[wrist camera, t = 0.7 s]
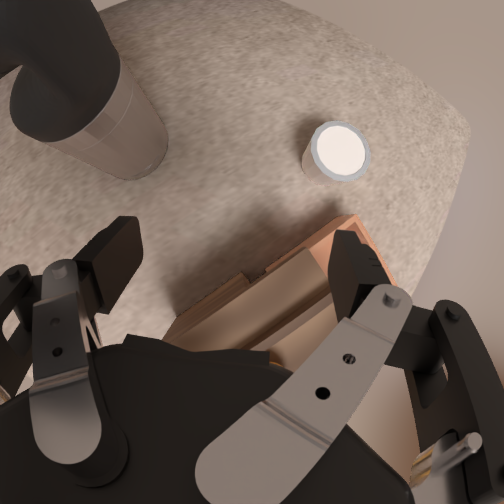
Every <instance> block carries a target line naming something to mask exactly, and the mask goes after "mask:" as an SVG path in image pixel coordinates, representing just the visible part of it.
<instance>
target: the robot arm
mask: <svg viewBox="0 0 504 504" xmlns="http://www.w3.org/2000/svg"><path fill="white" fill-rule="evenodd" d="M20 65H23V66H22V68H21V70H20V72H19V73H18V75H17V78H16V80H15V82H14V85H13V88H12V92H11V97H10V114H11V118H12V120H13V123H14V124H15V126H16V127H17V128H18V129H19V130H20V131H21V132H22V133H24V134H26V135H28V136H30V137H32V138H34V139H36V140H38V141H41V142H43V143H45V144H47V145H49V146H52V147H54V148H56V149H58V150H61V151H63V152H65V153H67V154H69V155H71V156H73V157H75V158H78V159H80V160H82V161H84V162H86V163H88V164H90V165H92V166H94V167H97V168H99V169H101V170H103V171H105V172H107V173H109V174H111V175H113V176H115V177H117V178H121V179H124V180H134V179H139V178H141V177H144V176H146V175H148V174H149V173H151V172H152V171H153V170H154V169H155V168H156V167H158V165H159V164H160V163H161V161H162V160H163V158H164V156H165V154H166V150H167V147H168V135H167V131H166V128H165V126H164V124H163V123H162V121H161V120H160V118H159V117H158V115H157V113H156V112H155V110H154V108H153V107H152V105H151V104H150V102H149V101H148V99H147V97H146V96H145V94H144V93H143V91H142V90H141V88H140V86H139V85H138V83H137V82H136V80H135V79H134V77H133V75H132V74H131V72H130V71H129V69H128V68H127V66H126V65H125V63H124V62H123V60H122V58H121V57H120V55H119V54H118V52H117V51H116V49H115V47H114V46H113V44H112V42H111V40H110V38H109V36H108V33H107V31H106V29H105V27H104V24H103V22H102V20H101V18H100V16H99V14H98V12H97V10H96V9H95V7H94V5H93V3H92V2H91V0H0V79H1V78H2V77H4V76H5V75H6V74H8V73H9V72H11V71H12V70H14V69H15V68H17V67H18V66H20ZM142 260H143V245H142V239H141V233H140V226H139V221H138V218H137V217H135V216H119V217H118V218H116V219H115V220H114V221H113V222H112V223H111V224H110V225H109V226H108V227H107V228H105V229H103V230H101V231H100V232H98V233H97V234H96V235H95V236H94V237H93V238H92V240H90V241H89V242H88V243H87V245H85V246H84V247H83V248H82V249H81V250H80V251H79V252H78V253H77V254H76V256H75V257H74V258H73V259H72V260H71V259H62V260H58V261H56V262H54V263H52V264H50V265H49V266H48V267H47V268H46V269H45V270H44V272H43V275H36V276H31V274H30V271H29V268H28V266H27V265H24V264H20V265H16V266H13V267H11V268H9V269H8V270H7V271H5V272H4V273H3V274H2V275H1V276H0V504H497V503H500V502H502V501H504V389H503V386H502V384H501V381H500V379H499V376H498V374H497V372H496V369H495V367H494V365H493V362H492V360H491V358H490V356H489V354H488V352H487V349H486V347H485V345H484V343H483V341H482V339H481V337H480V335H479V333H478V331H477V329H476V327H475V326H474V324H473V322H472V320H471V318H470V316H469V314H468V313H467V311H466V310H465V309H464V308H463V307H462V306H461V305H459V304H458V303H456V302H453V301H450V300H440V301H438V302H437V303H436V305H435V307H434V309H433V311H432V310H428V309H424V308H420V307H416V306H413V303H412V299H411V297H410V296H409V294H408V293H407V292H405V291H404V290H403V289H401V288H399V287H397V286H394V285H392V284H391V282H390V280H389V278H388V276H387V274H386V272H385V270H384V268H383V267H382V264H381V262H380V260H379V258H378V256H377V254H376V253H375V251H374V250H373V249H372V248H371V247H369V246H368V245H367V244H361V242H360V240H359V238H358V236H357V234H356V232H355V231H351V230H340V229H336V231H335V233H334V238H333V243H332V248H331V253H330V258H329V263H328V281H329V285H330V290H331V294H332V298H333V303H334V307H335V312H336V316H337V321H338V325H337V326H336V327H335V328H334V329H333V330H332V332H331V333H330V334H329V335H328V336H327V337H326V339H325V340H324V341H323V342H322V343H321V344H320V345H319V346H318V348H317V349H316V350H315V351H314V352H313V353H312V354H311V355H310V356H309V358H308V359H307V360H306V361H305V362H304V363H303V364H302V365H301V366H300V367H299V368H298V369H297V370H296V371H295V372H292V371H290V370H288V369H286V368H284V367H282V366H279V365H276V364H273V363H270V362H269V358H270V352H269V351H255V350H242V349H223V350H212V351H199V352H192V351H188V350H185V349H183V348H180V347H177V346H175V345H172V344H169V343H167V342H164V341H162V340H159V339H154V338H148V337H142V336H137V335H131V334H127V335H126V337H125V339H124V341H123V343H122V344H114V345H109V346H104V347H103V344H102V340H101V336H100V333H99V329H98V324H97V321H96V318H95V314H96V313H103V314H108V315H109V313H110V311H111V310H112V308H113V307H114V305H115V303H116V302H117V300H118V298H119V297H120V295H121V294H122V292H123V291H124V289H125V287H126V286H127V284H128V283H129V281H130V280H131V278H132V277H133V275H134V274H135V272H136V271H137V269H138V268H139V266H140V265H141V263H142ZM12 310H14V311H15V313H16V315H17V317H18V319H19V321H20V324H19V325H18V327H17V328H16V330H15V331H14V333H13V334H12V336H11V337H10V339H9V340H8V341H7V340H6V338H5V337H4V335H3V332H2V325H3V322H4V320H5V319H6V318H7V316H8V315H9V314H10V312H11V311H12ZM32 362H33V378H34V383H33V385H32V386H31V387H30V388H29V389H27V390H25V391H23V392H22V393H20V394H18V395H17V396H15V395H16V393H17V391H18V389H19V387H20V385H21V383H22V381H23V379H24V377H25V375H26V374H27V372H28V370H29V368H30V366H31V364H32ZM444 363H445V366H446V369H447V372H448V382H447V379H446V376H445V373H444V370H443V367H442V365H443V364H444ZM383 364H385V365H389V366H393V367H398V368H402V369H404V372H405V377H406V380H407V385H408V389H409V393H410V398H411V403H412V408H413V413H414V418H415V423H416V429H417V434H418V440H419V447H420V453H421V454H420V455H419V456H418V457H417V458H416V459H415V461H414V463H413V466H412V470H411V476H410V483H409V485H408V484H407V482H406V481H405V480H404V479H403V478H402V477H401V476H400V475H399V474H398V473H397V472H396V471H395V470H394V469H393V468H392V467H390V465H388V464H387V463H386V462H385V461H384V460H383V459H382V458H381V457H380V456H379V455H378V454H377V453H376V452H375V451H374V450H373V449H372V448H370V446H368V444H367V443H366V442H365V441H364V440H363V439H362V438H360V437H359V436H358V435H357V434H356V433H355V432H354V431H353V430H352V429H351V428H350V427H349V426H348V425H347V422H348V420H349V419H350V417H351V416H352V414H353V413H354V411H355V410H356V408H357V407H358V405H359V404H360V402H361V401H362V399H363V397H364V396H365V394H366V393H367V391H368V390H369V388H370V386H371V385H372V383H373V381H374V380H375V378H376V376H377V375H378V373H379V371H380V369H381V368H382V366H383Z"/></svg>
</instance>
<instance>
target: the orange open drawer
mask: <svg viewBox="0 0 504 504" xmlns="http://www.w3.org/2000/svg"><path fill="white" fill-rule="evenodd" d="M336 229H340V230H351V231H355V232H356V234H357V236H358V238H359V240H360V242H361V244H367V245H368V246H369V247H371V248H372V249H373V250H374V251H375V253H376V254H377V256H378V258H379V260H380V262H381V264H382V267H383V268H384V270H385V272H386V274H387V276H388V278H389V280H390V282H391V284H392V285H394V286H397V284H396V282H395V280H394V278H393V276H392V275H391V273H390V271H389V269H388V267H387V265H386V263H385V262H384V260H383V258H382V256H381V255H380V253H379V251H378V249H377V248H376V246H375V244H374V242H373V241H372V239H371V237H370V236H369V234H368V232H367V230H366V229H365V227H364V226H363V224H362V222H361V221H360V219H359V217H358V216H357V214H352V215H345V216H338V217H336V218H335V219H333V220H332V221H331V222H329V223H328V224H327V225H325V226H324V227H322V228H321V229H320V230H318V231H317V232H316V233H314V234H313V235H312V236H310V237H309V238H307V239H306V240H305V241H303V242H302V243H301V244H299V245H298V246H296V247H295V248H294V249H292V250H291V251H290V252H288V253H287V254H285V255H284V256H283V257H281V258H280V259H278V260H277V261H276V262H274V263H273V264H271V265H270V266H269V267H267V268H266V269H265V271H266V272H268V271H269V270H271V269H272V268H274V267H275V266H276V265H278V264H279V263H281V262H282V261H283V260H285V259H286V258H288V257H289V256H290V255H292V254H293V253H294V252H296V251H297V250H299V249H300V248H301V247H307V248H308V249H309V251H310V252H311V254H312V255H313V257H314V258H315V260H316V261H317V263H318V264H319V266H320V267H321V269H322V270H323V272H324V273H325V275H326V277H327V278H328V263H329V258H330V253H331V248H332V243H333V238H334V233H335V231H336ZM397 287H398V286H397Z"/></svg>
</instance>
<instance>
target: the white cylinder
mask: <svg viewBox="0 0 504 504" xmlns="http://www.w3.org/2000/svg"><path fill="white" fill-rule="evenodd" d="M369 164H370V149H369V146H368V143H367V140H366V138H365V137H364V136H363V135H362V133H361V132H360V131H359V130H358V129H357V128H355V127H354V126H352V125H351V124H349V123H346V122H342V121H338V120H336V121H330V122H325V123H324V124H322V125H321V126H320V127H318V128H317V129H316V131H315V133H314V135H313V136H312V138H311V140H310V142H309V144H308V146H307V148H306V150H305V152H304V154H303V156H302V163H301V165H302V169H303V172H304V174H305V175H306V176H307V178H308V179H309V180H310V181H312V182H313V183H315V184H317V185H321V186H329V185H334V184H339V183H344V182H348V181H352V180H357V179H358V178H359V177H361V176H362V175H363V174H364V173H365V172H366V170H367V168H368V166H369Z"/></svg>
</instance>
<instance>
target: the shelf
mask: <svg viewBox="0 0 504 504" xmlns="http://www.w3.org/2000/svg"><path fill="white" fill-rule="evenodd" d="M337 325H338V321H337V316H336V312H335V307H334V303H333V298H332V294H331V290H330V285H329V281H328V278H327V277H326V275H325V273H324V272H323V270H322V269H321V267H320V266H319V264H318V263H317V261H316V260H315V258H314V257H313V255H312V254H311V252H310V251H309V249H308V248H307V247H301V248H300V249H299V250H297V251H296V252H294V253H293V254H292V255H290V256H289V257H288V258H286V259H285V260H283V261H282V262H281V263H279V264H278V265H276V266H275V267H274V268H272V269H271V270H269V271H268V272H267V273H265V274H264V275H262V276H261V277H260V278H258V279H257V280H255V281H254V282H253V283H251V284H250V282H249V281H248V280H247V278H246V277H245V276H244V274H243V273H242V272H240V273H239V274H237V275H236V276H235V277H233V278H232V279H230V280H229V281H228V282H226V283H225V284H223V285H222V286H221V287H219V288H218V289H216V290H215V291H213V292H212V293H211V294H209V295H208V296H206V297H205V298H204V299H202V300H201V301H199V302H198V303H196V304H195V305H194V306H192V307H191V308H189V309H188V310H186V311H185V312H184V313H182V314H181V315H179V316H178V317H177V318H176V319H175V321H174V322H173V324H172V325H171V327H170V328H169V330H168V331H167V333H166V334H165V336H164V337H163V339H162V341H164V342H167V343H169V344H172V345H175V346H177V347H180V348H183V349H185V350H188V351H192V352H199V351H212V350H223V349H242V350H255V351H269V352H270V358H269V362H274V363H277V364H279V365H281V366H283V367H284V368H286V369H288V370H290V371H292V372H295V371H296V370H297V369H298V368H299V367H300V366H301V365H302V364H303V363H304V362H305V361H306V360H307V359H308V358H309V356H310V355H311V354H312V353H313V352H314V351H315V350H316V349H317V348H318V346H319V345H320V344H321V343H322V342H323V341H324V340H325V339H326V337H327V336H328V335H329V334H330V333H331V332H332V330H333V329H334V328H335V327H336V326H337Z"/></svg>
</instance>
